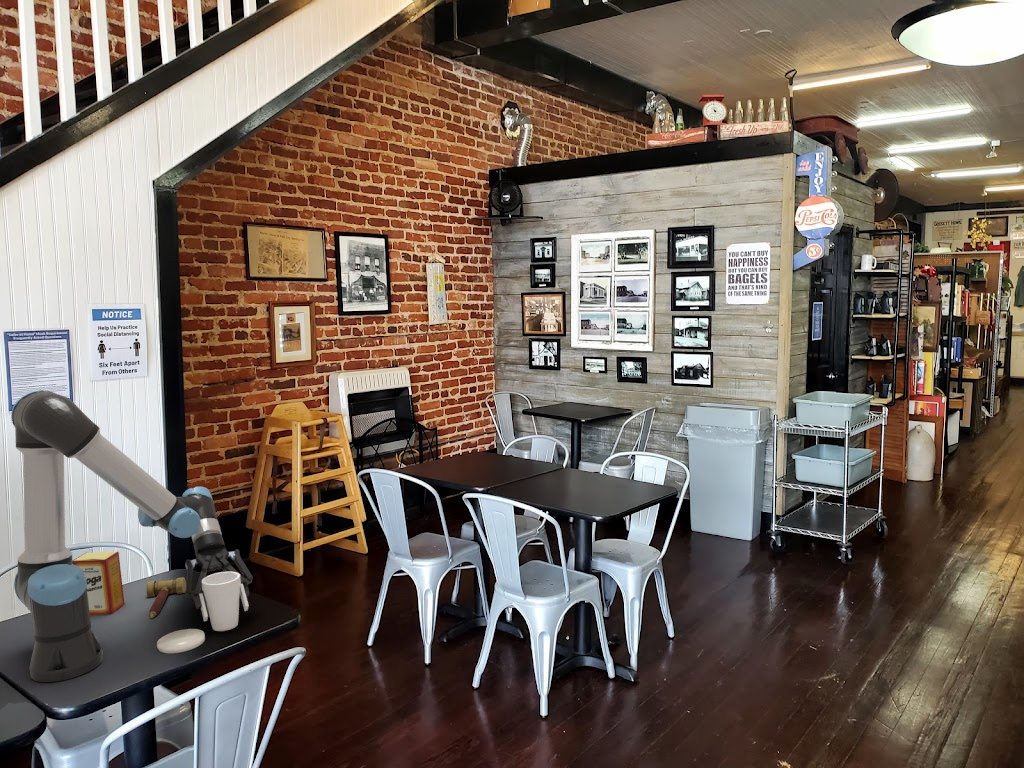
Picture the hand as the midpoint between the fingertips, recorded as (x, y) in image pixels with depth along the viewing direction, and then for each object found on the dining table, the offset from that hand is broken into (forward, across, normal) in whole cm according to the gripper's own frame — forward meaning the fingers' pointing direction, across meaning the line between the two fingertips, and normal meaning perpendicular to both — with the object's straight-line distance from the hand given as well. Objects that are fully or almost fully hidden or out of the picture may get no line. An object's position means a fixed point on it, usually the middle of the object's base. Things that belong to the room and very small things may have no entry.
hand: (226, 613), depth 201 cm
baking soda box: (-23, +26, -29) cm, 45 cm away
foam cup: (+1, 0, -5) cm, 5 cm away
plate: (+4, +12, -3) cm, 12 cm away
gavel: (-18, +12, -25) cm, 33 cm away
